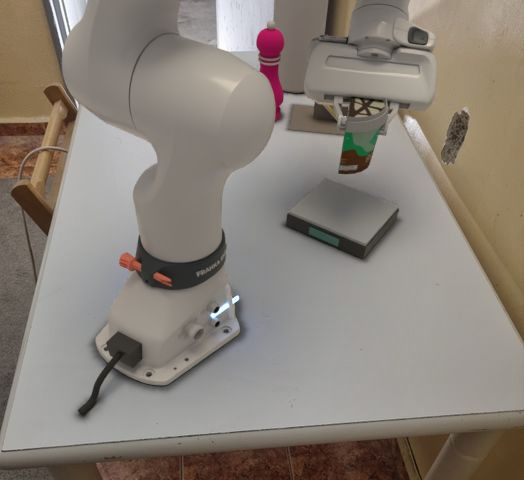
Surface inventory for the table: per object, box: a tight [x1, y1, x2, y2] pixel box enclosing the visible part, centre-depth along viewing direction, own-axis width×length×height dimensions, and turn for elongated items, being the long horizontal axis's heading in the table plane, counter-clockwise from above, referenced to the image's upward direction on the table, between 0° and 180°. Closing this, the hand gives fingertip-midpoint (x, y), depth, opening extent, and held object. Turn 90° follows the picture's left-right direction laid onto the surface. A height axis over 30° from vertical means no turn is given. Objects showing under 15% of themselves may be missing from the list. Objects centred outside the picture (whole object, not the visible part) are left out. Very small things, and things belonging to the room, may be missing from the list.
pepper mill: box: [255, 19, 285, 122], centre depth 114 cm, size 7×7×20 cm
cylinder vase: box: [272, 0, 329, 94], centre depth 124 cm, size 12×12×25 cm
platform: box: [288, 99, 350, 136], centre depth 119 cm, size 12×18×7 cm, turn 83°
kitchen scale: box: [285, 177, 400, 260], centre depth 96 cm, size 14×16×3 cm
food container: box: [337, 97, 389, 175], centre depth 82 cm, size 12×6×10 cm, turn 170°
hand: (361, 131), depth 82 cm, fingers closed on food container, 5 cm apart
